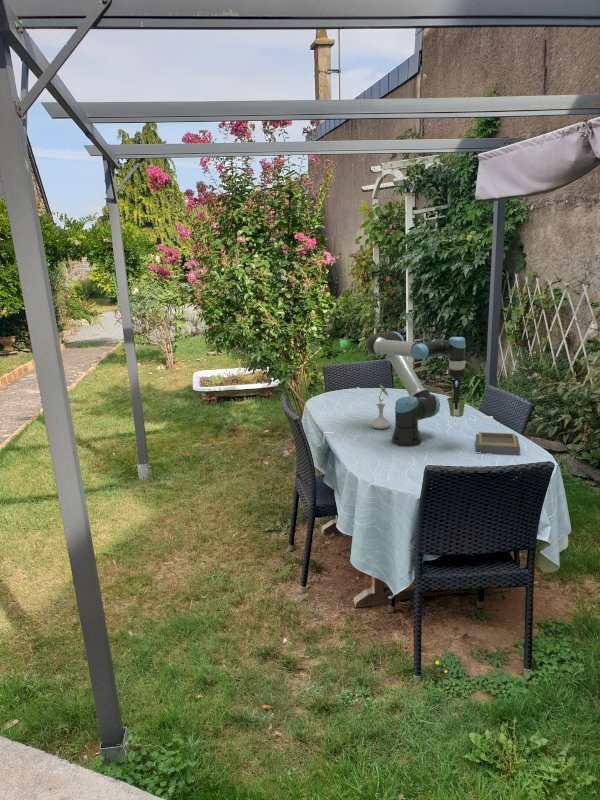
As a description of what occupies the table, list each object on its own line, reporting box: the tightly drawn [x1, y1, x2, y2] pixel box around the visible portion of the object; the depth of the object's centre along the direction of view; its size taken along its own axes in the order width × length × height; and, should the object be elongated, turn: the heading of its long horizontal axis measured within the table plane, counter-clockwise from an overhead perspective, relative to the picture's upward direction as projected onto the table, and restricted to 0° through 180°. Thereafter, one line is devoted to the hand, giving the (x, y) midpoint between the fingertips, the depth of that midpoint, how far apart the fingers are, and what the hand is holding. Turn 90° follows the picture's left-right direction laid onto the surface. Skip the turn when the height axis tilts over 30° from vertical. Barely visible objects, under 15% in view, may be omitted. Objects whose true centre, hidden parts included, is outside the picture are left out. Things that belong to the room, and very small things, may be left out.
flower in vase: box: [370, 384, 392, 430], centre depth 324 cm, size 13×11×25 cm
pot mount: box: [475, 431, 521, 456], centre depth 284 cm, size 20×18×5 cm
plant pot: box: [446, 396, 467, 418], centre depth 285 cm, size 9×9×9 cm
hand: (456, 412), depth 286 cm, fingers closed on plant pot, 9 cm apart
